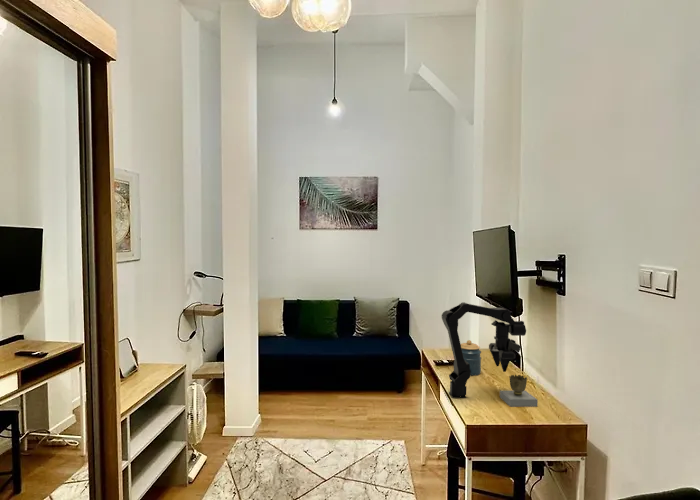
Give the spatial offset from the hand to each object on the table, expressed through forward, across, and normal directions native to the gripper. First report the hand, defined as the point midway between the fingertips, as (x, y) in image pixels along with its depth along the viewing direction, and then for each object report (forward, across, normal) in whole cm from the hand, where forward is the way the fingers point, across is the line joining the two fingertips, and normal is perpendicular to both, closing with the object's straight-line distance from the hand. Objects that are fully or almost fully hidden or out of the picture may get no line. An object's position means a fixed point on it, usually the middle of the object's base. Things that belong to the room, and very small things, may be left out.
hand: (500, 368), depth 208 cm
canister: (+12, +36, +5) cm, 39 cm away
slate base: (+12, -8, -5) cm, 16 cm away
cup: (+9, -8, -5) cm, 13 cm away
